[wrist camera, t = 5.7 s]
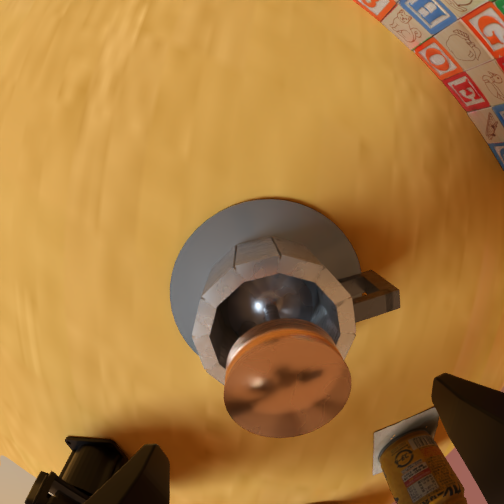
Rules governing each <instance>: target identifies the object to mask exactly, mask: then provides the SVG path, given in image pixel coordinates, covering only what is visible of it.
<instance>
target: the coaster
mask: <svg viewBox="0 0 504 504" xmlns="http://www.w3.org/2000/svg"><path fill="white" fill-rule="evenodd" d="M268 236H270V237H271V238H272V236H274V237H277V238H281V239H284V240H288V241H291V242H295V243H298V244H302V245H304V246H306V247H307V248H308V249H309V250H310V252H311V253H312V254H313V255H314V256H315V257H316V258H317V259H318V260H319V261H320V262H321V263H322V264H323V265H324V266H325V267H326V268H327V269H328V270H329V272H330V273H331V274H332V275H333V276H334V277H335V278H336V279H337V280H338V279H341V278H345V277H349V276H352V275H356V274H359V273H361V269H360V264H359V261H358V258H357V255H356V253H355V251H354V249H353V247H352V245H351V243H350V242H349V240H348V239H347V237H346V236H345V235H344V233H343V232H342V231H341V230H340V229H339V228H338V227H337V226H336V225H335V224H334V223H333V222H332V221H331V220H329V219H328V218H327V217H325V216H324V215H322V214H321V213H319V212H317V211H315V210H313V209H312V208H309V207H306V206H304V205H301V204H299V203H295V202H291V201H286V200H278V199H258V200H252V201H246V202H242V203H239V204H236V205H233V206H230V207H228V208H226V209H224V210H222V211H220V212H218V213H217V214H215V215H214V216H212V217H211V218H209V219H208V220H206V221H205V222H204V223H203V224H202V225H201V226H200V227H198V228H197V229H196V230H195V232H194V233H193V234H192V235H191V236H190V237H189V239H188V240H187V241H186V243H185V245H184V246H183V248H182V249H181V251H180V253H179V255H178V257H177V260H176V262H175V265H174V268H173V272H172V276H171V284H170V301H171V308H172V312H173V316H174V319H175V322H176V324H177V327H178V329H179V331H180V333H181V335H182V336H183V338H184V339H185V341H186V342H187V344H188V345H189V346H190V347H191V348H192V350H193V351H194V352H195V353H196V354H198V352H197V349H196V347H195V344H194V341H193V339H192V336H193V335H192V332H193V328H194V323H195V319H196V315H197V311H198V307H199V302H200V298H201V296H202V293H203V290H204V287H205V285H206V282H207V279H208V276H209V274H210V271H211V269H212V267H213V266H214V265H215V264H216V263H217V262H218V261H219V260H220V259H222V258H223V257H224V256H225V255H226V254H227V253H228V252H229V251H230V250H231V249H232V248H233V247H234V246H237V244H240V243H244V242H248V241H252V240H256V239H260V238H264V237H268ZM302 280H303V281H304V282H305V284H306V286H307V287H308V289H309V291H310V293H311V296H312V300H313V312H312V316H311V319H312V317H313V314H314V312H315V309H316V306H317V304H318V301H319V298H318V292H317V287H316V283H315V282H312V281H308V280H304V279H302ZM361 296H362V293H361V294H357V295H354V296H351V297H352V299H354V298H357V297H361ZM228 300H229V296H228V297H227V298H226V299H225V300H224V301H222V302H221V303H220V304H219V308H220V311H221V314H222V318H223V321H224V323H225V324H226V325H227V326H228V327H229V328H230V329H231V330H233V331H234V332H235V330H234V329H233V327H232V326H231V323H230V321H229V317H228ZM310 322H311V320H310ZM235 333H236V332H235ZM236 334H237V333H236ZM237 335H238V334H237ZM238 336H239V335H238ZM239 337H240V336H239ZM198 355H199V354H198Z"/></svg>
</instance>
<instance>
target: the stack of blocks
mask: <svg viewBox="0 0 504 504" xmlns="http://www.w3.org/2000/svg"><path fill="white" fill-rule="evenodd" d="M353 1H354V2H356V3H357V4H358V5H360V6H361V7H362V8H364V9H365V10H366V11H367V12H369V13H370V14H371V15H372V16H374V17H375V18H376V19H377V20H378V21H380V22H381V23H382V24H383V25H384V26H385V27H386V28H387V29H388V30H390V31H391V32H392V33H393V34H394V35H395V36H396V37H397V38H398V39H399V40H401V41H402V42H403V43H404V44H405V45H406V46H407V47H408V48H409V49H410V50H412V51H414V52H415V53H416V55H417V56H418V57H419V58H421V60H422V61H423V62H424V63H425V64H426V65H427V66H428V67H429V68H430V69H431V70H432V71H433V72H434V74H435V75H436V76H437V77H438V78H439V79H440V80H441V81H442V82H443V83H444V84H445V86H446V87H447V88H448V89H449V90H450V92H451V93H452V94H453V95H454V97H455V98H456V99H457V100H458V102H459V103H460V104H461V106H462V107H463V108H464V109H465V110H466V111H467V114H468V116H469V117H470V119H471V120H472V122H473V123H474V124H475V126H476V127H477V129H478V130H479V132H480V133H481V135H482V136H483V138H484V139H485V141H486V142H487V143H488V145H489V147H490V149H491V150H492V152H493V153H494V155H495V157H496V158H497V160H498V162H499V163H500V165H501V167H502V169H503V170H504V0H353Z"/></svg>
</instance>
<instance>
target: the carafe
mask: <svg viewBox="0 0 504 504" xmlns="http://www.w3.org/2000/svg"><path fill="white" fill-rule="evenodd" d="M279 273H281V274H285V275H289V276H293V277H296V278H300V279H304V280H308V281H312V282H315V283H316V287H317V292H318V298H319V301H318V304H317V306H316V309H315V312H314V314H313V317H312V319H311V323H314V324H316V325H318V326H319V327H321V328H322V329H323V330H325V331H326V332H327V333H328V334H329V335H330V337H331V338H332V340H333V341H334V343H335V345H336V347H337V349H338V350H339V352H340V354H341V356H342V358H343V360H344V359H345V357H346V355H347V353H348V351H349V349H350V347H351V345H352V342H353V340H354V338H355V336H356V334H355V333H356V326H355V323H356V322H359V321H362V320H365V319H368V318H371V317H374V316H377V315H380V314H383V313H386V312H389V311H392V310H395V309H398V308H400V296H399V289H397V288H396V287H394V286H393V285H392V284H390V283H389V282H388V281H386V280H385V279H384V278H382V277H381V276H379V275H378V274H377V273H375V272H374V271H372V270H369V271H366V272H363V273H359V274H356V275H352V276H349V277H345V278H341V279H338V280H337V279H336V278H335V277H334V276H333V275H332V274H331V273H330V272H329V270H328V269H327V268H326V267H325V266H324V265H323V264H322V263H321V262H320V261H319V260H318V259H317V258H316V257H315V256H314V255H313V254H312V253H311V252H310V250H309V249H308V248H307V247H306V246H304V245H302V244H298V243H295V242H291V241H288V240H284V239H281V238H277V237H274V236H272V238H271V237H270V236H268V237H264V238H260V239H256V240H252V241H248V242H244V243H240V244H237V246H234V247H233V248H232V249H231V250H230V251H229V252H228V253H227V254H226V255H225V256H224V257H223V258H222V259H220V260H219V261H218V262H217V263H216V264H215V265H214V266H213V267H212V269H211V271H210V274H209V276H208V279H207V282H206V285H205V287H204V290H203V293H202V296H201V298H200V302H199V307H198V311H197V315H196V319H195V323H194V328H193V332H192V335H193V336H192V339H193V341H194V344H195V347H196V349H197V352H198V354H199V357H200V359H201V362H202V364H203V367H204V369H206V372H207V373H209V374H210V375H211V376H212V377H214V378H215V379H216V380H218V381H219V382H220V383H222V384H223V385H224V386H225V374H226V362H227V358H228V355H229V352H230V350H231V348H232V346H233V345H234V343H235V342H236V341H237V340H238V339H239V338H240V337H239V336H238V335H237V334H236V333H235V332H234V331H233V330H231V329H230V328H229V327H228V326H227V325H226V324H225V323H224V321H223V318H222V314H221V311H220V308H219V304H220V303H221V302H222V301H224V300H225V299H226V298H227V297H228V296H229V295H230V294H231V293H232V292H233V291H234V290H235V289H237V288H238V287H239V286H240V285H241V284H242V283H243V282H246V281H250V280H254V279H259V278H263V277H267V276H271V275H275V274H279ZM364 292H366V293H367V295H364V296H361V297H357V298H354V299H352V297H351V296H354V295H357V294H361V293H364Z"/></svg>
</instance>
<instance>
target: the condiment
mask: <svg viewBox="0 0 504 504" xmlns="http://www.w3.org/2000/svg"><path fill="white" fill-rule="evenodd" d="M438 420H439V414H438V412H437V410H436V408H435V407H434V408H431V409H429V410H427V411H425V412H423V413H420V414H417V415H415V416H413V417H411V418H409V419H406V420H402V421H401V422H399V423H397V424H395V425H392V426H389V427H387V428H385V429H383V430H380V431H377V432H375V433H374V455H373V475H375V474H378V473H381V472H383V473H384V475H385V478H386V480H387V482H388V485H389V488H390V490H391V492H392V495H393V496H394V499H395V501H396V503H397V504H467V500H466V498H465V497H464V487H463V485H462V484H461V483H460V481H459V479H458V477H457V476H456V474H455V473H454V471H453V470H452V468H451V466H450V465H449V463H448V462H447V460H446V458H445V457H444V455H443V453H442V452H441V450H440V449H439V447H438V445H437V444H436V442H435V441H434V435H435V432H436V428H437V426H438ZM394 435H395V436H394ZM393 436H394V437H393ZM391 438H392V439H391ZM390 439H391V440H390Z"/></svg>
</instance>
